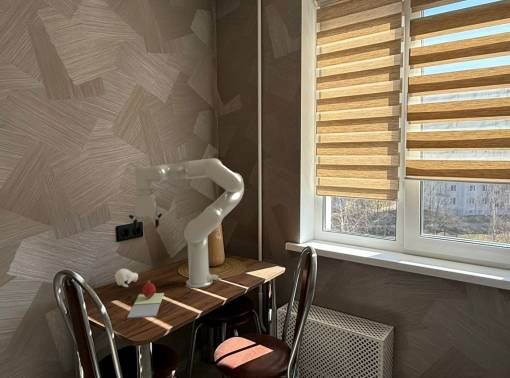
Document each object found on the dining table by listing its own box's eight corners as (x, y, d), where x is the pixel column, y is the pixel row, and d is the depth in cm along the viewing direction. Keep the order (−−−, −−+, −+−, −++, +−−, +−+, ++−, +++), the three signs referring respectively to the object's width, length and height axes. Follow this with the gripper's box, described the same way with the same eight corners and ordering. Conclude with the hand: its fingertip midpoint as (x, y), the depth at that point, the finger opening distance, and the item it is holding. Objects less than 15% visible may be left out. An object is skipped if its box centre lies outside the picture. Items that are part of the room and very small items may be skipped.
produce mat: (163, 294, 179) (163, 292, 179) (160, 303, 168) (160, 302, 168) (139, 295, 178) (139, 294, 178) (134, 305, 167) (134, 304, 167)
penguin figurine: (113, 269, 189) (132, 264, 200) (113, 286, 190) (132, 281, 200) (122, 271, 186) (141, 266, 197) (122, 289, 186) (141, 283, 197)
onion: (139, 300, 171) (138, 282, 170) (147, 295, 177) (146, 277, 176) (151, 301, 169) (150, 283, 168) (158, 296, 175) (157, 279, 174)
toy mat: (159, 305, 167) (159, 303, 167) (155, 316, 156) (155, 315, 156) (133, 306, 166) (133, 305, 166) (127, 318, 155) (127, 316, 155)
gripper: (164, 190, 191) (165, 225, 193) (127, 192, 189) (129, 227, 191) (161, 192, 183) (163, 228, 185) (123, 194, 182) (126, 230, 184)
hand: (146, 227), depth 188 cm, fingers open, 9 cm apart
